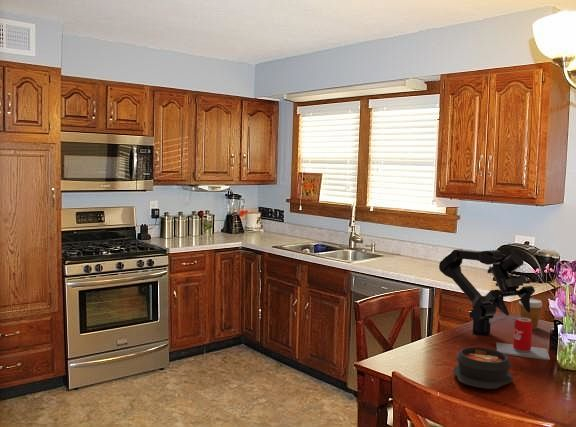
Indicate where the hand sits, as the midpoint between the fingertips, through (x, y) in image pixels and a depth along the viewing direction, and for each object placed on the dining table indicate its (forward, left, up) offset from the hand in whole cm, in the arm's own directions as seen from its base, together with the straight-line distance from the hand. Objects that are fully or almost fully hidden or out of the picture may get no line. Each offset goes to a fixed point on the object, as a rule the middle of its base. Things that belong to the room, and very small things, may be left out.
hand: (518, 313), depth 208 cm
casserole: (-12, -39, -14) cm, 43 cm away
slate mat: (+2, -4, -13) cm, 14 cm away
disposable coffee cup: (+7, +33, -14) cm, 36 cm away
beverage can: (+2, -4, -13) cm, 14 cm away
